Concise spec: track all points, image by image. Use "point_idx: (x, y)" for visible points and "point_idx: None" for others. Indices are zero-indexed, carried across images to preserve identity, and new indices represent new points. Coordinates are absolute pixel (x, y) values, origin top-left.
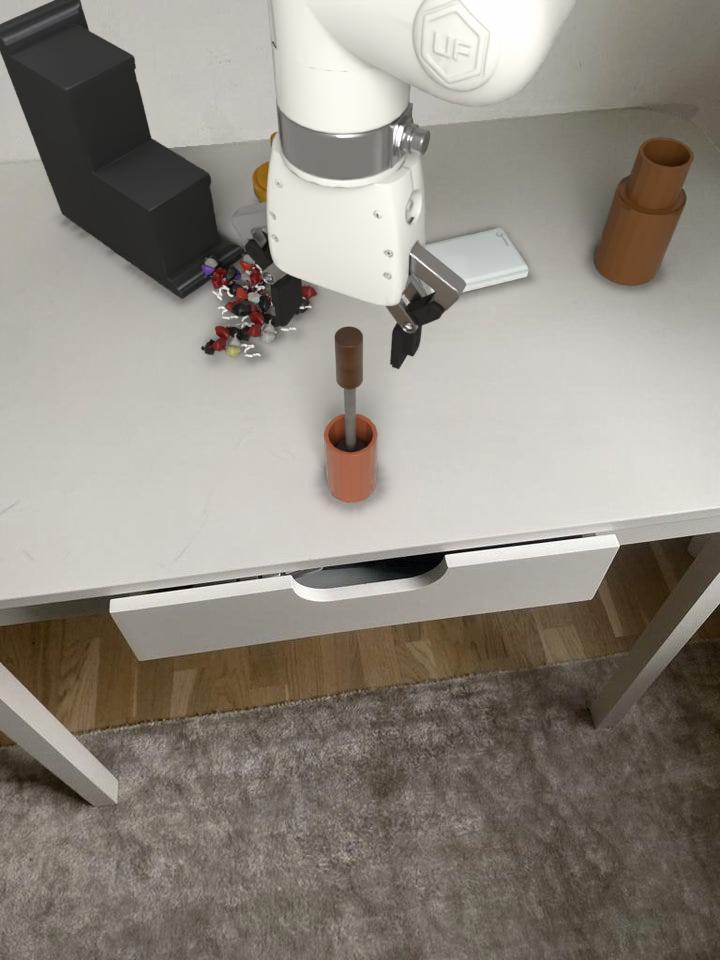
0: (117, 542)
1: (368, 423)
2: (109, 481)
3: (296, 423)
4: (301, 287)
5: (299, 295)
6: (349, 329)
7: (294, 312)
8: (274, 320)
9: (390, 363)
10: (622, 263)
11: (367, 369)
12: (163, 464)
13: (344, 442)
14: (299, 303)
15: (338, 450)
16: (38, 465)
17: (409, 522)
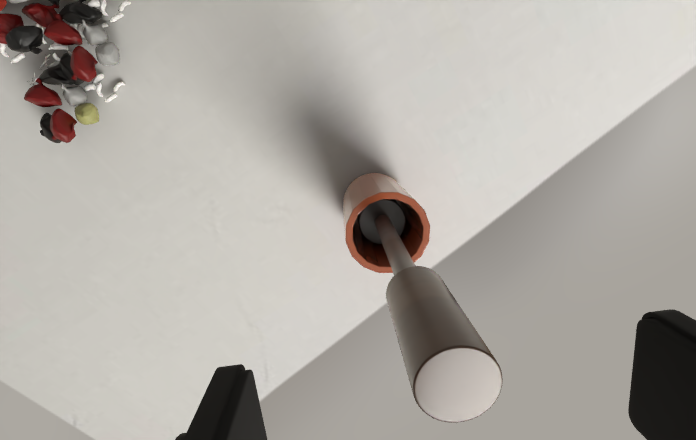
0: (200, 397)
1: (401, 200)
2: (131, 351)
3: (256, 163)
4: (232, 429)
5: (241, 421)
6: (444, 361)
7: (260, 423)
8: (88, 15)
9: (636, 427)
10: None
11: (281, 10)
12: (162, 303)
13: (366, 215)
14: (250, 397)
15: (387, 268)
16: (47, 377)
17: (464, 213)
